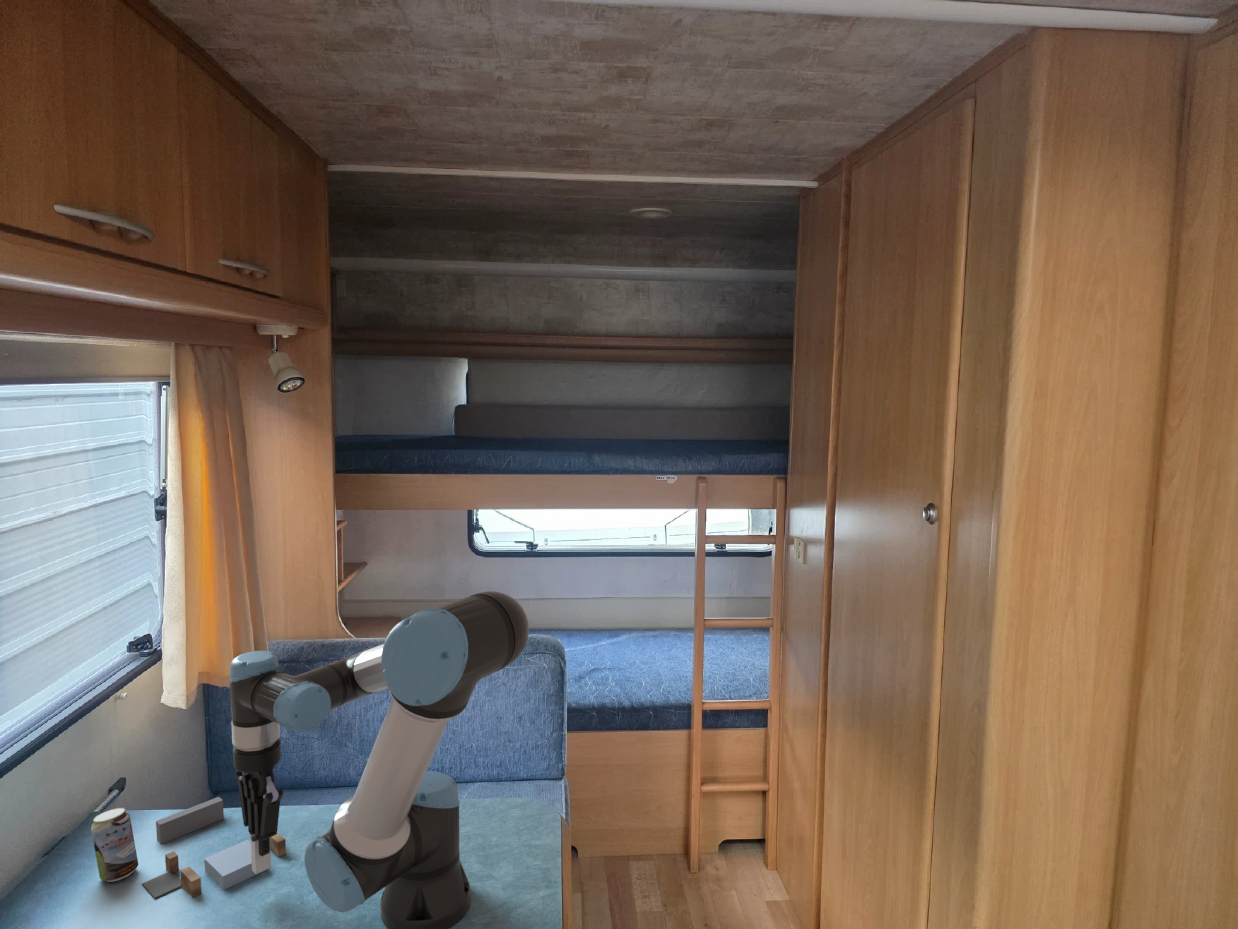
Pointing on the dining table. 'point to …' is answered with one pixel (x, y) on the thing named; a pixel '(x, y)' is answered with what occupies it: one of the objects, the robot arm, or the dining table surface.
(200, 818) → the end block
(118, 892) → the dining table surface
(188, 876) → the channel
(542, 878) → the dining table surface
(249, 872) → the block
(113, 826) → the beverage can
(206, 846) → the dining table surface
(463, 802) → the dining table surface
